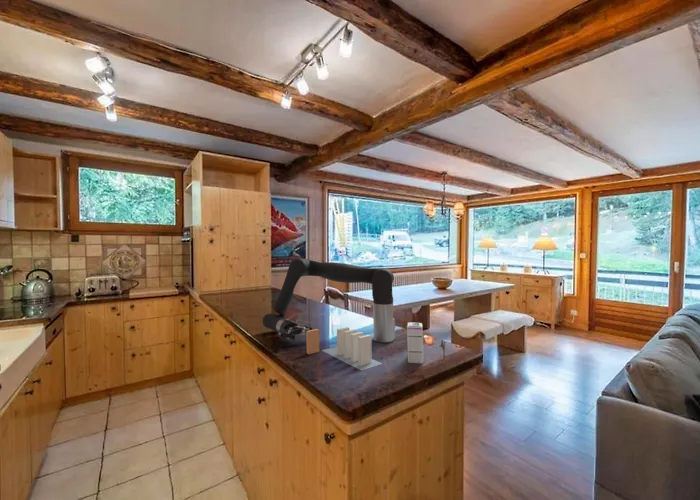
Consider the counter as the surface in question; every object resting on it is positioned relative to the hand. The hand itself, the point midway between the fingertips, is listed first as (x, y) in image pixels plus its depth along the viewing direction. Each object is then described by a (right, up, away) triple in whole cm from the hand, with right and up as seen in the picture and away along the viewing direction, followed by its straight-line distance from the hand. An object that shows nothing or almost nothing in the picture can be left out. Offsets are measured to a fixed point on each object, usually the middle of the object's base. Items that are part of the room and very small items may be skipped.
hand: (303, 335), depth 129 cm
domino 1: (+5, -6, -7) cm, 10 cm away
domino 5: (+25, -5, -19) cm, 32 cm away
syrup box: (+44, -6, -16) cm, 47 cm away
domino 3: (+20, -5, -12) cm, 24 cm away
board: (+20, -6, -12) cm, 24 cm away
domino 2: (+17, -5, -8) cm, 20 cm away
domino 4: (+23, -5, -15) cm, 28 cm away
